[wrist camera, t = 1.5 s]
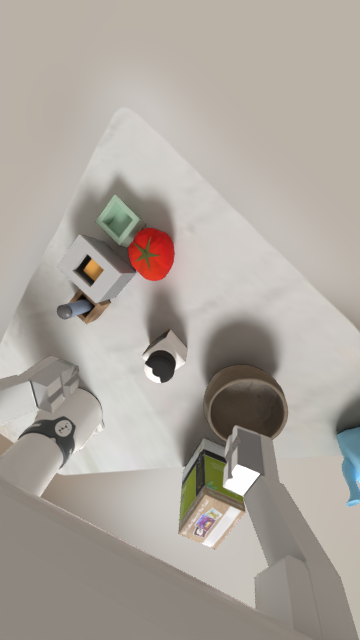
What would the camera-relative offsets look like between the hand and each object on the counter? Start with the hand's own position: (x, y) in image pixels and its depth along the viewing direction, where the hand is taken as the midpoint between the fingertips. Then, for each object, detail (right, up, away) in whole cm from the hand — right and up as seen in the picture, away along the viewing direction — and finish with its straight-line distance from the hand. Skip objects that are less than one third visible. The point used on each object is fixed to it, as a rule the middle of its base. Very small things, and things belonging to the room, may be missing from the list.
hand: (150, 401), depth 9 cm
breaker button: (-16, +15, +31) cm, 38 cm away
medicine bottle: (-1, -3, +39) cm, 39 cm away
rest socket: (-11, +25, +32) cm, 42 cm away
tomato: (-4, +18, +34) cm, 39 cm away
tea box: (+10, -38, +47) cm, 61 cm away
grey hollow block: (-15, +16, +35) cm, 42 cm away
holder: (-20, +8, +38) cm, 44 cm away
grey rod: (-20, +8, +37) cm, 43 cm away
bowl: (+16, -13, +40) cm, 45 cm away
